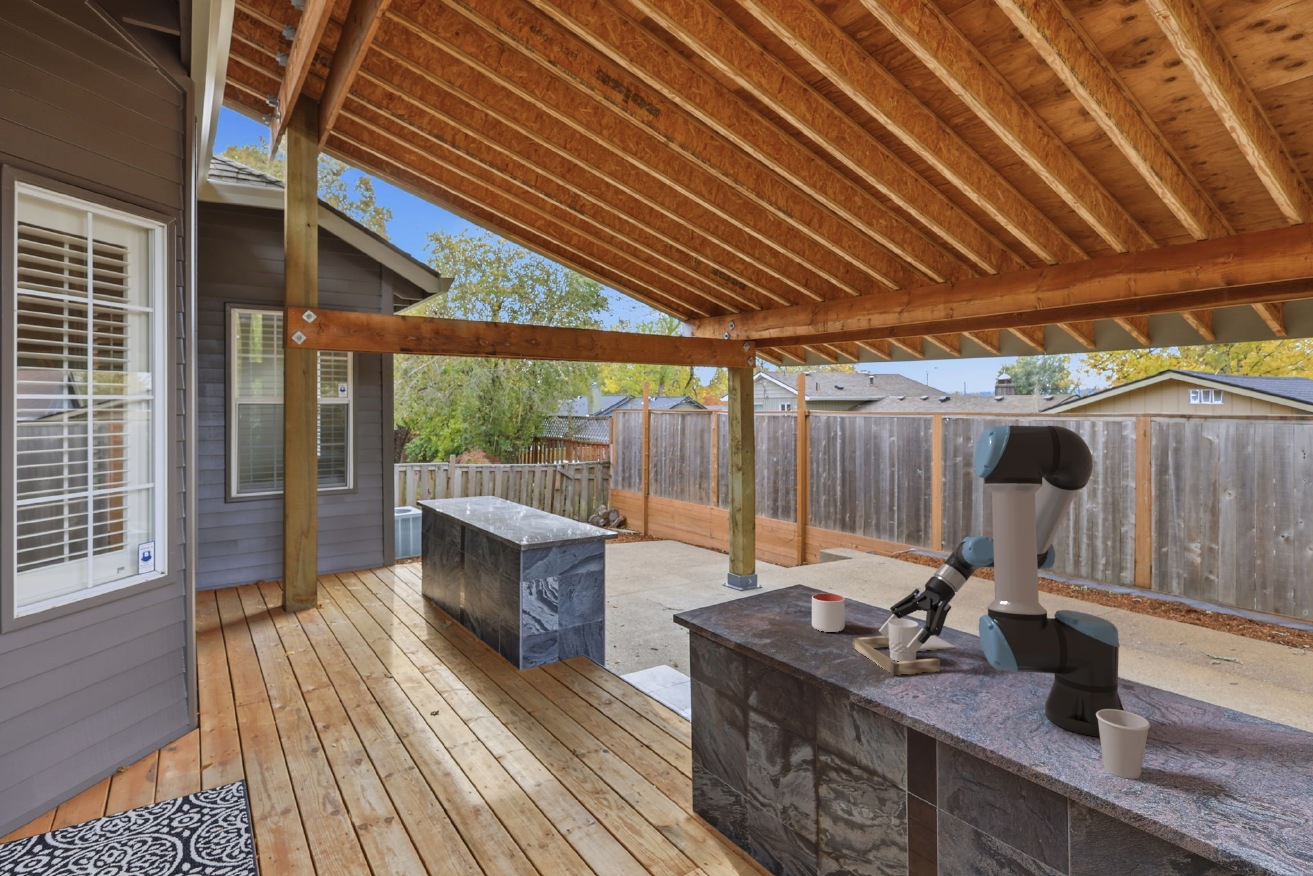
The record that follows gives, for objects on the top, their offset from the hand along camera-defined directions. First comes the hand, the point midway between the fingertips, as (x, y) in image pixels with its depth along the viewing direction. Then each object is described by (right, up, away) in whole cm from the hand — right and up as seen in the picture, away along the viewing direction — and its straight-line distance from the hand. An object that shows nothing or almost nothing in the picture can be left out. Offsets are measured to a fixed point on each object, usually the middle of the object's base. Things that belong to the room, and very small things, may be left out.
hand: (895, 642), depth 185 cm
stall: (-1, -5, 0) cm, 5 cm away
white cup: (+2, -5, +1) cm, 5 cm away
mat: (+13, -4, +13) cm, 19 cm away
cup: (-12, -4, +27) cm, 30 cm away
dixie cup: (+22, -7, -58) cm, 63 cm away
